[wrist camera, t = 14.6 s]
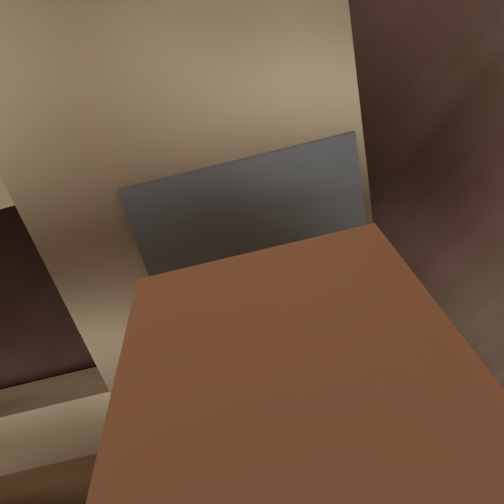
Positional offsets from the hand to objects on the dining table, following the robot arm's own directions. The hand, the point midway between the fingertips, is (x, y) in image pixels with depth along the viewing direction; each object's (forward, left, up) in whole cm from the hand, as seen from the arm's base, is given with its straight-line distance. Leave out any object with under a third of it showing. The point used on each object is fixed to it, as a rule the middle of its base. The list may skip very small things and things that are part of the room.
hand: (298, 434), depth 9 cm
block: (0, 0, -2) cm, 3 cm away
